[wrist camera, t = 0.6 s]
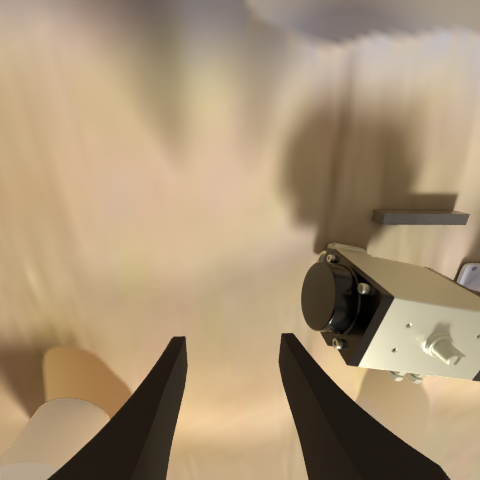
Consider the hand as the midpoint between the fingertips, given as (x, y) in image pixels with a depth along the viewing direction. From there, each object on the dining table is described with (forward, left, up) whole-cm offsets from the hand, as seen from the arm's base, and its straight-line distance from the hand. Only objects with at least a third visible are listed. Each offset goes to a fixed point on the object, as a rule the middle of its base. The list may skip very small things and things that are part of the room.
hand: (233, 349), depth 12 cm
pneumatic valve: (-11, 0, -11) cm, 15 cm away
